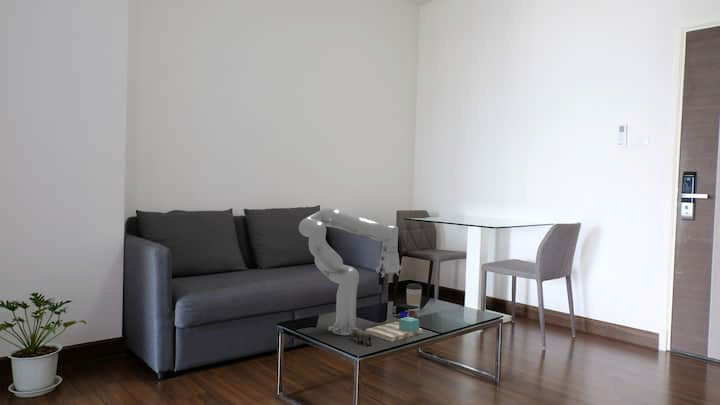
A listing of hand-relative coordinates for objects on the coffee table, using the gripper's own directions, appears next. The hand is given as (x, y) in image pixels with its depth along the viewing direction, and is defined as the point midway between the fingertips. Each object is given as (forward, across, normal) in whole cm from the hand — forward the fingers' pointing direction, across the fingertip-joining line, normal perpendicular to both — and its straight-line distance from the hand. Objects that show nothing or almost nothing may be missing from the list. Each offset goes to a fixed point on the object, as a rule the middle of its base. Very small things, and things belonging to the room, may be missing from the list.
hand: (388, 284), depth 258 cm
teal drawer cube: (+19, 0, -16) cm, 25 cm away
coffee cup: (+21, +37, +16) cm, 46 cm away
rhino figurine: (+22, -28, -13) cm, 38 cm away
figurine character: (+21, +20, +6) cm, 30 cm away
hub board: (+21, -6, -11) cm, 25 cm away
